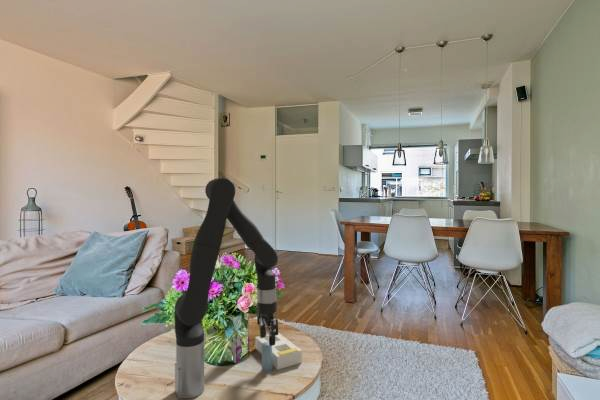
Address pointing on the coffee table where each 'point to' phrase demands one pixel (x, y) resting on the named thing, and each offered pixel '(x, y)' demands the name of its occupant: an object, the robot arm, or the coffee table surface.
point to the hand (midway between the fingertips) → (267, 341)
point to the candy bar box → (238, 346)
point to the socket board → (281, 351)
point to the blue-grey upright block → (266, 357)
